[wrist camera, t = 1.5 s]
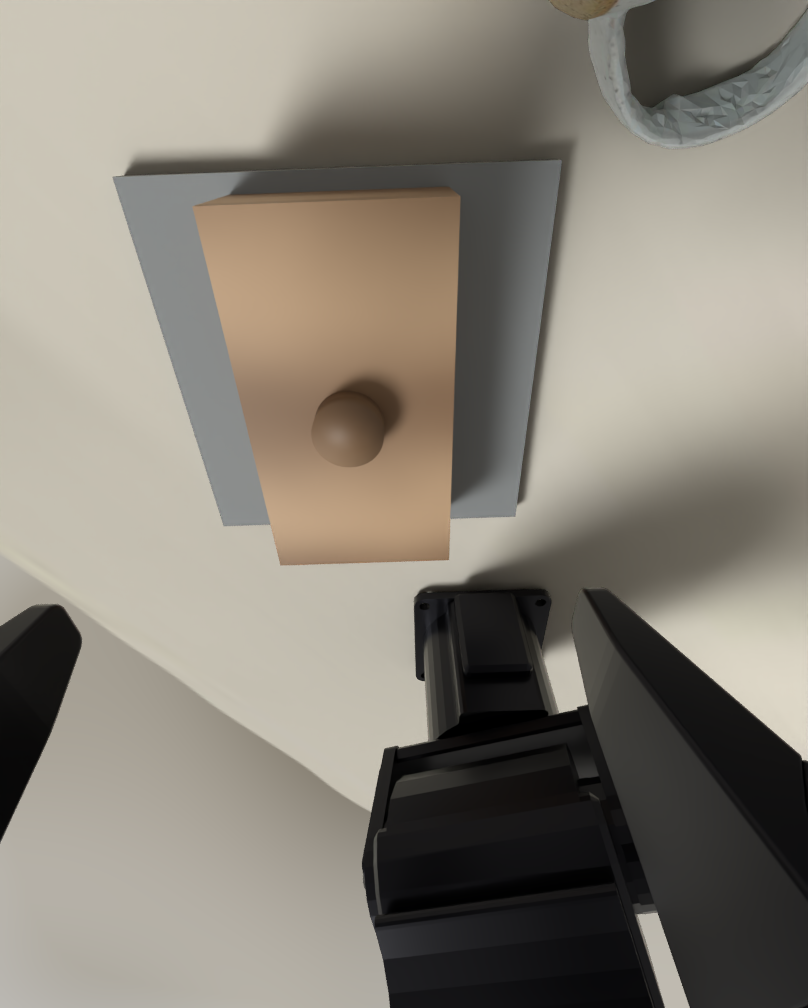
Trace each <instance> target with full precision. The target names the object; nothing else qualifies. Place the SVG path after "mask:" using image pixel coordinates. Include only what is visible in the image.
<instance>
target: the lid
mask: <svg viewBox="0 0 808 1008" xmlns="http://www.w3.org/2000/svg"><path fill="white" fill-rule="evenodd" d="M460 197H461V196H460V195H458V194H457V193H456V192H455V191H454V190H452V189H451V188H450V187H423V188H397V189H370V190H343V191H316V192H290V193H263V194H236V195H227V196H223V197H220V198H217V199H214V200H211V201H208V202H204V203H201V204H198V205H195V206H192V207H193V211H194V215H195V219H196V223H197V227H198V232H199V236H200V240H201V244H202V248H203V252H204V256H205V260H206V264H207V268H208V272H209V276H210V280H211V284H212V288H213V293H214V297H215V301H216V305H217V309H218V313H219V317H220V321H221V325H222V329H223V333H224V337H225V341H226V345H227V349H228V354H229V358H230V362H231V366H232V370H233V374H234V378H235V382H236V386H237V390H238V394H239V398H240V402H241V406H242V410H243V414H244V419H245V423H246V427H247V431H248V435H249V439H250V443H251V447H252V451H253V455H254V459H255V463H256V467H257V471H258V475H259V480H260V484H261V488H262V492H263V496H264V500H265V504H266V508H267V512H268V516H269V520H270V524H271V528H272V532H273V536H274V541H275V545H276V549H277V553H278V557H279V561H280V565H309V564H340V563H371V562H402V561H432V560H449V541H450V510H451V478H452V447H453V416H454V385H455V353H456V322H457V291H458V260H459V228H460Z"/></svg>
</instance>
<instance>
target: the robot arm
mask: <svg viewBox="0 0 808 1008" xmlns="http://www.w3.org/2000/svg"><path fill="white" fill-rule="evenodd" d="M539 599H541V600H539ZM422 603H426V604H422ZM550 606H551V598H550V595H549V593H548V592H547V591H546V590H543V589H532V590H500V591H469V592H437V593H421V594H418V595H417V596H416V597H415V598H414V623H415V660H416V677H417V679H418V680H421V681H425V688H426V707H427V725H428V742H423V743H419V744H414V745H409V746H405V747H400V748H399V747H398V746H394V747H389V748H385V749H384V753H383V759H382V764H381V768H380V771H379V776H378V781H377V786H376V791H375V797H374V802H373V807H372V812H371V818H370V823H369V828H368V833H367V838H366V844H365V848H364V854H363V859H362V869H363V883H364V888H365V889H366V896H367V903H368V908H369V912H370V917H371V920H372V923H373V926H374V929H375V932H376V935H377V939H378V943H379V946H380V950H381V954H382V958H383V962H384V968H385V974H386V980H387V986H388V992H389V1001H390V1008H665V1007H664V1003H663V1000H662V996H661V993H660V989H659V986H658V982H657V979H656V975H655V972H654V968H653V965H652V961H651V958H650V955H649V951H648V947H647V944H646V941H645V938H644V935H643V931H642V928H641V925H640V922H639V919H638V915H637V914H648V913H657V912H658V915H659V918H660V921H661V924H662V927H663V930H664V933H665V936H666V939H667V942H668V945H669V948H670V950H671V953H672V956H673V959H674V962H675V965H676V968H677V971H678V974H679V977H680V980H681V983H682V986H683V988H684V992H685V994H686V997H687V1000H688V1003H689V1006H690V1008H808V761H806V760H802V757H801V755H800V754H799V753H797V752H796V751H795V750H794V749H793V748H792V747H790V746H789V745H788V744H787V743H786V742H785V741H784V740H782V739H781V738H780V737H779V736H778V735H777V734H775V733H774V732H773V731H772V730H771V729H770V728H768V727H767V726H766V725H765V724H764V723H763V722H761V721H760V720H759V719H758V718H757V717H756V716H754V715H753V714H752V713H751V712H750V711H749V710H748V709H746V708H745V707H744V706H743V705H742V704H741V703H739V702H738V701H737V700H736V699H735V698H734V697H732V696H731V695H730V694H729V693H728V692H727V691H725V690H724V689H723V688H722V687H721V686H720V685H719V684H717V683H716V682H715V681H714V680H713V679H712V678H710V677H709V676H708V675H707V674H706V673H705V672H703V671H702V670H701V669H700V668H699V667H698V666H696V665H695V664H694V663H693V662H692V661H691V660H689V659H688V658H687V657H686V656H685V655H684V654H683V653H681V652H680V651H679V650H678V649H677V648H676V647H674V646H673V645H672V644H671V643H670V642H669V641H667V640H666V639H665V638H664V637H663V636H662V635H660V634H659V633H658V632H657V631H656V630H655V629H653V628H652V627H651V626H650V625H649V624H648V623H647V622H645V621H644V620H643V619H642V618H641V617H640V616H638V615H637V614H636V613H635V612H634V611H633V610H631V609H630V608H629V607H628V606H627V605H626V604H624V603H623V602H622V601H621V600H620V599H619V598H617V597H616V596H615V595H614V594H613V593H612V592H611V591H609V590H608V589H606V588H603V587H596V588H583V589H581V590H580V592H579V594H578V598H577V602H576V606H575V609H574V613H573V617H572V633H573V638H574V642H575V647H576V652H577V656H578V661H579V665H580V670H581V674H582V679H583V683H584V688H585V692H586V697H587V701H588V705H584V706H579V707H577V710H573V711H568V712H563V713H559V711H558V708H557V704H556V701H555V697H554V694H553V690H552V687H551V683H550V680H549V676H548V673H547V669H546V666H545V662H544V659H543V655H542V652H541V648H542V644H543V639H544V634H545V630H546V625H547V620H548V616H549V611H550ZM81 644H82V637H81V634H80V632H79V630H78V629H77V627H76V625H75V624H74V622H73V621H72V619H71V618H70V616H69V614H68V613H67V612H66V610H65V609H64V607H62V606H61V605H59V604H42V605H34V606H31V607H29V608H28V609H26V610H25V611H23V612H22V613H20V614H18V615H17V616H15V617H14V618H12V619H11V620H9V621H8V622H6V623H5V624H3V625H1V626H0V842H1V840H2V838H3V836H4V834H5V831H6V829H7V827H8V825H9V823H10V821H11V818H12V816H13V814H14V812H15V809H16V808H17V805H18V803H19V801H20V799H21V797H22V795H23V793H24V790H25V788H26V786H27V784H28V782H29V780H30V778H31V775H32V773H33V771H34V769H35V767H36V765H37V762H38V760H39V758H40V756H41V754H42V752H43V749H44V747H45V745H46V743H47V740H48V738H49V736H50V734H51V731H52V729H53V726H54V723H55V721H56V718H57V715H58V713H59V710H60V707H61V704H62V701H63V698H64V695H65V692H66V689H67V687H68V684H69V681H70V678H71V675H72V672H73V669H74V667H75V664H76V661H77V658H78V655H79V652H80V649H81Z"/></svg>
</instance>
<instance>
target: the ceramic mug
mask: <svg viewBox="0 0 808 1008" xmlns="http://www.w3.org/2000/svg"><path fill="white" fill-rule="evenodd" d="M549 1H550V2H551V3H552V5H553V6H554V7H555V8H557V9H559V10H560V11H562V12H564V13H566V14H568V15H570V16H572V17H574V18H579V19H584V20H588V29H589V34H588V46H589V52H590V57H591V61H592V64H593V67H594V71H595V74H596V77H597V80H598V84H599V87H600V90H601V93H602V95H603V97H604V99H605V100H606V102H607V103H608V105H609V106H610V108H611V109H612V110H613V112H614V113H615V115H616V116H617V118H618V119H619V121H620V122H621V123H622V124H623V125H624V126H625V127H626V128H627V129H628V130H629V131H630V132H631V133H632V134H634V135H635V136H637V137H639V138H640V139H642V140H644V141H645V142H647V143H649V144H653V145H658V146H661V147H664V148H667V149H679V148H691V147H696V146H702V145H706V144H709V143H712V142H715V141H718V140H720V139H723V138H725V137H728V136H730V135H733V134H735V133H737V132H740V131H741V130H743V129H745V128H747V127H749V126H751V125H753V124H755V123H757V122H758V121H760V120H762V119H763V118H765V117H766V116H768V115H770V114H771V113H772V112H774V111H775V110H776V109H778V108H779V107H781V106H782V105H783V104H785V103H786V102H787V101H788V100H789V99H791V98H792V97H793V96H794V95H795V94H797V93H798V92H799V91H800V90H801V89H802V88H803V87H804V86H805V85H806V84H807V83H808V8H807V10H806V11H805V13H804V14H803V16H802V17H801V19H800V20H799V21H798V22H797V24H796V25H795V26H794V27H793V28H792V30H791V31H790V32H789V33H788V34H787V35H786V37H785V38H784V39H783V41H782V42H781V43H780V45H779V46H778V47H777V48H775V49H774V50H773V51H772V52H771V53H770V54H769V55H768V56H767V57H766V58H764V59H762V60H760V61H759V62H758V63H757V64H756V65H755V66H754V67H753V68H752V69H751V70H750V71H747V72H745V73H743V74H741V75H740V76H737V77H735V78H732V79H729V80H727V81H724V82H722V83H719V84H717V85H714V86H712V87H709V88H707V89H705V90H702V91H700V92H697V93H693V94H690V95H686V96H680V95H676V94H672V95H671V96H669V97H668V98H666V99H665V100H663V101H662V102H660V103H659V104H657V105H656V106H654V107H652V108H650V107H646V106H643V105H640V103H639V102H638V100H637V99H636V98H635V97H634V96H633V95H632V94H631V85H630V80H629V75H628V70H627V65H626V59H625V36H624V31H623V26H624V22H625V17H626V13H627V11H628V10H629V9H630V8H634V7H637V6H641V5H646V4H648V3H651V2H653V1H655V0H549Z"/></svg>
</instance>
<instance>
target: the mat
mask: <svg viewBox="0 0 808 1008" xmlns="http://www.w3.org/2000/svg"><path fill="white" fill-rule="evenodd" d="M561 165H562V160H558V159H552V160H525V161H499V162H472V163H446V164H419V165H393V166H366V167H340V168H313V169H287V170H260V171H234V172H207V173H181V174H154V175H128V176H116V177H113V180H114V183H115V186H116V190H117V193H118V196H119V199H120V202H121V205H122V208H123V212H124V215H125V218H126V221H127V224H128V227H129V230H130V234H131V237H132V240H133V243H134V246H135V249H136V252H137V255H138V259H139V262H140V265H141V268H142V271H143V274H144V277H145V281H146V284H147V287H148V290H149V293H150V296H151V299H152V302H153V306H154V309H155V312H156V315H157V318H158V321H159V324H160V328H161V331H162V334H163V337H164V340H165V343H166V346H167V349H168V353H169V356H170V359H171V362H172V365H173V368H174V371H175V375H176V378H177V381H178V384H179V387H180V390H181V393H182V396H183V400H184V403H185V406H186V409H187V412H188V415H189V418H190V422H191V425H192V428H193V431H194V434H195V437H196V440H197V443H198V447H199V450H200V453H201V456H202V459H203V462H204V465H205V469H206V472H207V475H208V478H209V481H210V484H211V487H212V491H213V494H214V497H215V500H216V503H217V506H218V509H219V512H220V516H221V519H222V522H223V525H224V526H243V525H271V524H270V520H269V516H268V512H267V508H266V504H265V500H264V496H263V492H262V488H261V484H260V480H259V475H258V471H257V467H256V463H255V459H254V455H253V451H252V447H251V443H250V439H249V435H248V431H247V427H246V423H245V419H244V414H243V410H242V406H241V402H240V398H239V394H238V390H237V386H236V382H235V378H234V374H233V370H232V366H231V362H230V358H229V354H228V349H227V345H226V341H225V337H224V333H223V329H222V325H221V321H220V317H219V313H218V309H217V305H216V301H215V297H214V293H213V288H212V284H211V280H210V276H209V272H208V268H207V264H206V260H205V256H204V252H203V248H202V244H201V240H200V236H199V232H198V227H197V223H196V219H195V215H194V211H193V207H192V206H195V205H198V204H201V203H204V202H208V201H211V200H214V199H217V198H220V197H223V196H227V195H236V194H263V193H290V192H316V191H343V190H370V189H397V188H423V187H450V188H451V189H452V190H454V191H455V192H456V193H457V194H458V195H460V196H461V197H460V228H459V260H458V291H457V322H456V353H455V385H454V416H453V447H452V478H451V510H450V519H456V518H486V517H515V515H516V507H517V500H518V492H519V484H520V477H521V469H522V461H523V454H524V446H525V439H526V431H527V423H528V416H529V408H530V401H531V393H532V385H533V378H534V370H535V363H536V355H537V347H538V340H539V332H540V325H541V317H542V309H543V302H544V294H545V286H546V279H547V271H548V264H549V256H550V248H551V241H552V233H553V226H554V218H555V210H556V203H557V195H558V188H559V180H560V172H561Z"/></svg>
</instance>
